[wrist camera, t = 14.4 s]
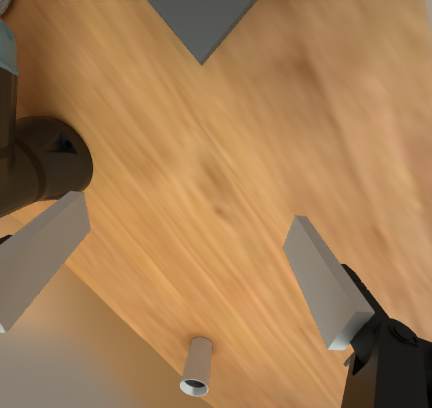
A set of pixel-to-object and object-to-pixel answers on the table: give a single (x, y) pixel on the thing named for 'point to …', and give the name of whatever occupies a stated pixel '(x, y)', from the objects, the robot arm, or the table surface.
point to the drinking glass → (197, 368)
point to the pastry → (4, 5)
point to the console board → (202, 21)
